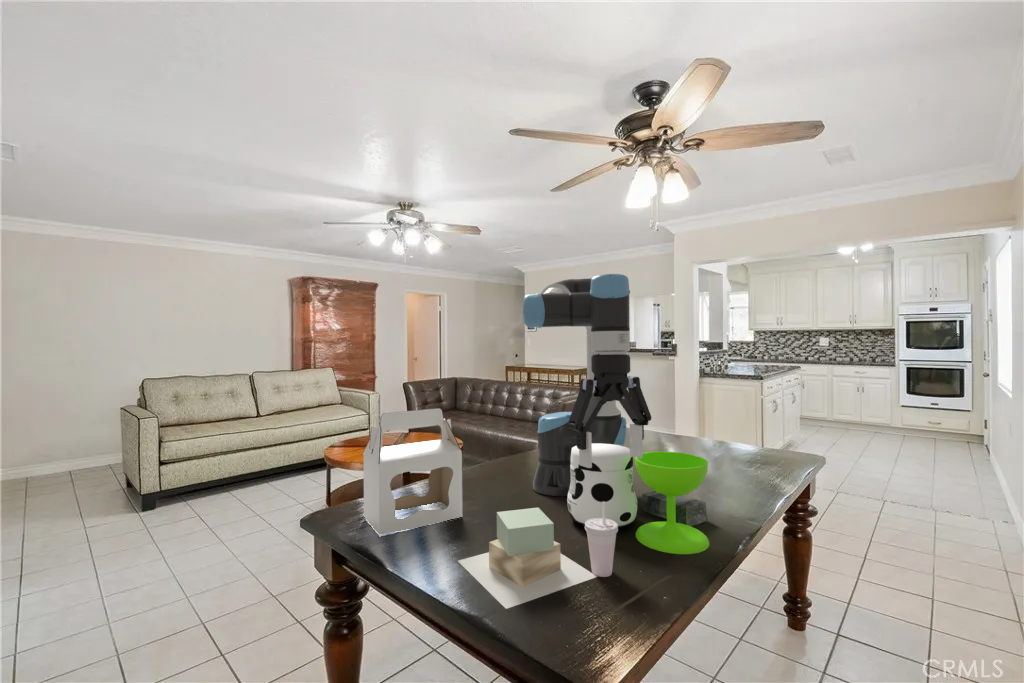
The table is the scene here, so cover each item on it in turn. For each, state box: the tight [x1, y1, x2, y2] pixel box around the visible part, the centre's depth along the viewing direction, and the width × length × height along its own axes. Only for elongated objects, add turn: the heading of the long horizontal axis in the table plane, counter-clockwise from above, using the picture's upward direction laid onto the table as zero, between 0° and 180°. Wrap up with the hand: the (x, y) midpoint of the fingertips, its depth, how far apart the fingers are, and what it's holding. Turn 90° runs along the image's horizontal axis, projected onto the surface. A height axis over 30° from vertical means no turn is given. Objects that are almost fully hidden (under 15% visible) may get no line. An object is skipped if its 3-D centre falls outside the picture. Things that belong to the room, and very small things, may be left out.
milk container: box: [566, 443, 638, 529], centre depth 114 cm, size 17×17×18 cm
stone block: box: [641, 490, 709, 527], centre depth 117 cm, size 9×14×5 cm, turn 30°
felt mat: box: [457, 551, 598, 610], centre depth 89 cm, size 20×20×1 cm
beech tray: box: [488, 538, 562, 587], centre depth 89 cm, size 10×10×5 cm
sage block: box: [496, 507, 555, 556], centre depth 89 cm, size 9×9×5 cm
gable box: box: [363, 407, 463, 534], centre depth 117 cm, size 22×13×28 cm, turn 123°
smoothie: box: [584, 501, 619, 578], centre depth 88 cm, size 6×6×14 cm
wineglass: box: [634, 450, 710, 555], centre depth 104 cm, size 16×16×18 cm
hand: (612, 461), depth 89 cm, fingers open, 13 cm apart
